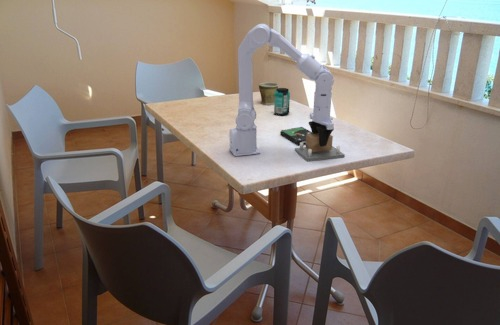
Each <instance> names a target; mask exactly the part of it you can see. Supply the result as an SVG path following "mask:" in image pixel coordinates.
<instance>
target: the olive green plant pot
mask: <svg viewBox="0 0 500 325" xmlns="http://www.w3.org/2000/svg"><path fill="white" fill-rule="evenodd" d="M277 88H279V84H278V83H276V82H262V83H259V84H258V89H259V94H260V99H261V104H262V105H264V106H274V104H275V92H276V89H277Z"/></svg>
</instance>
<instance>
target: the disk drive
mask: <svg viewBox="0 0 500 325" xmlns="http://www.w3.org/2000/svg"><path fill="white" fill-rule="evenodd" d="M307 134H312V130H311V131H310V130H309V129H307V128H305V127H303V126H298V127H292V128H288V129H281V131H280V136H281V137H283V138H285V139H286V140H288V141H289V142H290V143H293V144H294V145H296V147H300V142H303V146H306V135H307Z"/></svg>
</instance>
